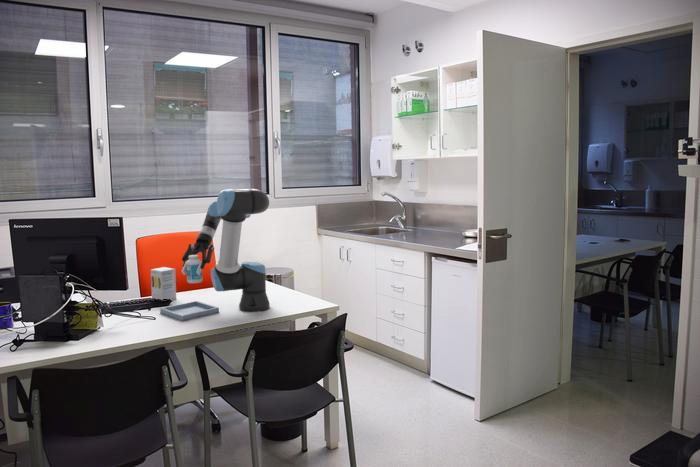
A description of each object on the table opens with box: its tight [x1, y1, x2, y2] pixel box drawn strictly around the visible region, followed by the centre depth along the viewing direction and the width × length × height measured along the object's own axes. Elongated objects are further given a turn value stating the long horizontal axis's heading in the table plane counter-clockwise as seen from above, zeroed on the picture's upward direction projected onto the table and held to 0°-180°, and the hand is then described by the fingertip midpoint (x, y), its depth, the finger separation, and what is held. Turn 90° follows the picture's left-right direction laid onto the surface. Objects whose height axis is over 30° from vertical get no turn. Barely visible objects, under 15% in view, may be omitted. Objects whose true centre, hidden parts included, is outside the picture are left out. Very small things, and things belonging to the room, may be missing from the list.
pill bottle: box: [186, 254, 203, 284], centre depth 271 cm, size 8×7×14 cm
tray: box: [159, 300, 220, 322], centre depth 264 cm, size 20×20×2 cm
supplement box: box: [150, 266, 177, 301], centre depth 289 cm, size 10×9×17 cm
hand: (190, 273), depth 268 cm, fingers closed on pill bottle, 7 cm apart
